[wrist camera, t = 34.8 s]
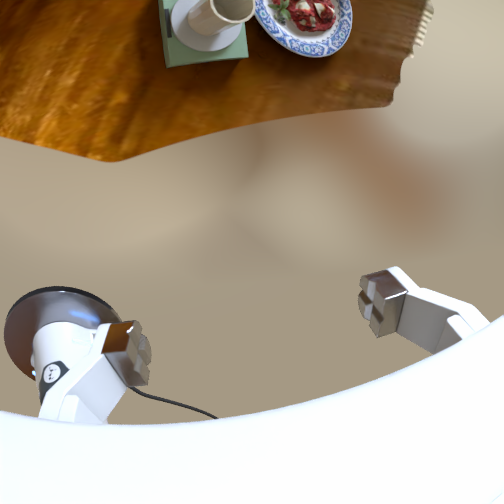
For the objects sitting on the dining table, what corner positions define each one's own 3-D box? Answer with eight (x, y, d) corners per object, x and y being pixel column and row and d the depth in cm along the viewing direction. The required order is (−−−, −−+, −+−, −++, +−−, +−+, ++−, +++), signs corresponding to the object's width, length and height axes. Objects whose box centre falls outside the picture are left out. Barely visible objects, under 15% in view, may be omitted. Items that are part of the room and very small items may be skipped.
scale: (240, 59, 38) (250, 56, 36) (166, 68, 33) (171, 65, 31) (232, -11, 30) (241, -17, 28) (157, -9, 25) (162, -16, 23)
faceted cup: (228, 34, 32) (258, 23, 26) (189, 37, 30) (212, 23, 24) (224, 1, 29) (253, -15, 23) (185, 2, 26) (207, -18, 21)
